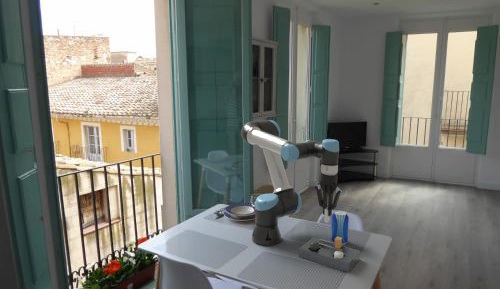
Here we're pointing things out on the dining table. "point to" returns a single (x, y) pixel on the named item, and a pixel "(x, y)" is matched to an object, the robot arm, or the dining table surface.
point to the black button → (314, 246)
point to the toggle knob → (338, 242)
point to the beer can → (339, 226)
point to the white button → (338, 254)
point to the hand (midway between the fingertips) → (326, 221)
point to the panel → (330, 255)
